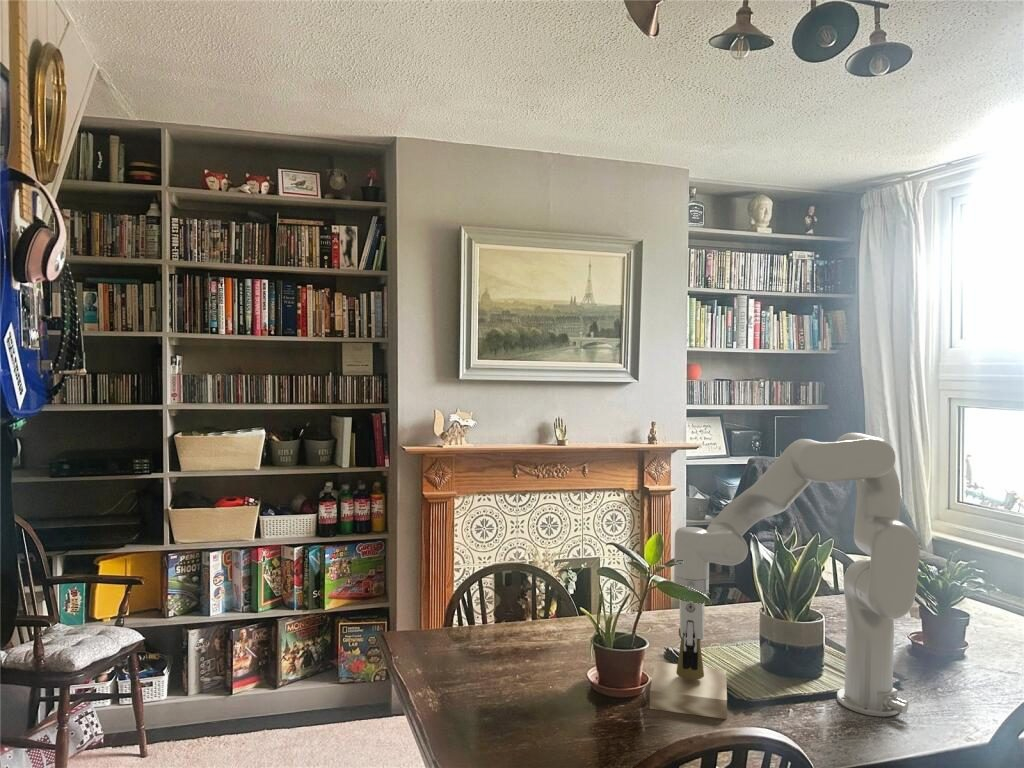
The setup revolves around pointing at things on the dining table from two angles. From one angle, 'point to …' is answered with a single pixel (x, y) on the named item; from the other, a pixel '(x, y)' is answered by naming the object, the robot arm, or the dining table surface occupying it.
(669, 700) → the birch base
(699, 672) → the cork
